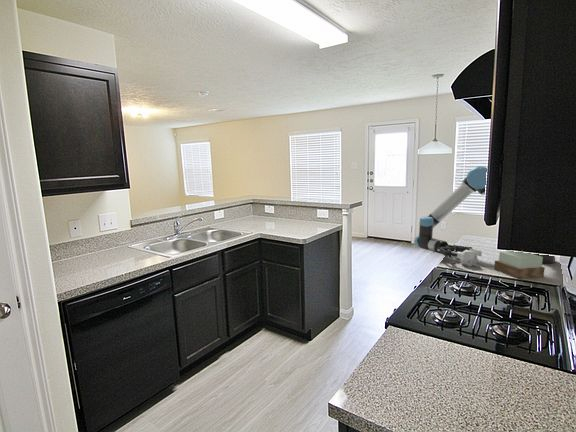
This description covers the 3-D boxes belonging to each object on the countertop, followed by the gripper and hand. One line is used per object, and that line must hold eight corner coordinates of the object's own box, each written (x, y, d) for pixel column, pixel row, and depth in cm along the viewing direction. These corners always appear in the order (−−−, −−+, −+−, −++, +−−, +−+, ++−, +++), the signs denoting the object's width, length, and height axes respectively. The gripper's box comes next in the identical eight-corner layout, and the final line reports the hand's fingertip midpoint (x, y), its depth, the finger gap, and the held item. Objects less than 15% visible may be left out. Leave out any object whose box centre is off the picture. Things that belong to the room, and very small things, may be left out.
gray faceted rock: (462, 268, 168) (476, 255, 164) (451, 256, 174) (465, 244, 170) (471, 271, 172) (485, 259, 168) (460, 260, 178) (473, 247, 174)
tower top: (519, 259, 164) (520, 250, 164) (541, 267, 153) (542, 256, 152) (498, 261, 162) (499, 251, 161) (520, 268, 151) (521, 258, 150)
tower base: (518, 268, 166) (519, 259, 166) (543, 277, 153) (544, 267, 152) (493, 270, 164) (494, 260, 163) (517, 279, 150) (518, 269, 150)
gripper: (453, 250, 193) (487, 259, 174) (422, 255, 183) (455, 265, 164) (454, 237, 192) (488, 245, 173) (422, 242, 182) (456, 251, 163)
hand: (472, 255), depth 168 cm, fingers open, 13 cm apart
